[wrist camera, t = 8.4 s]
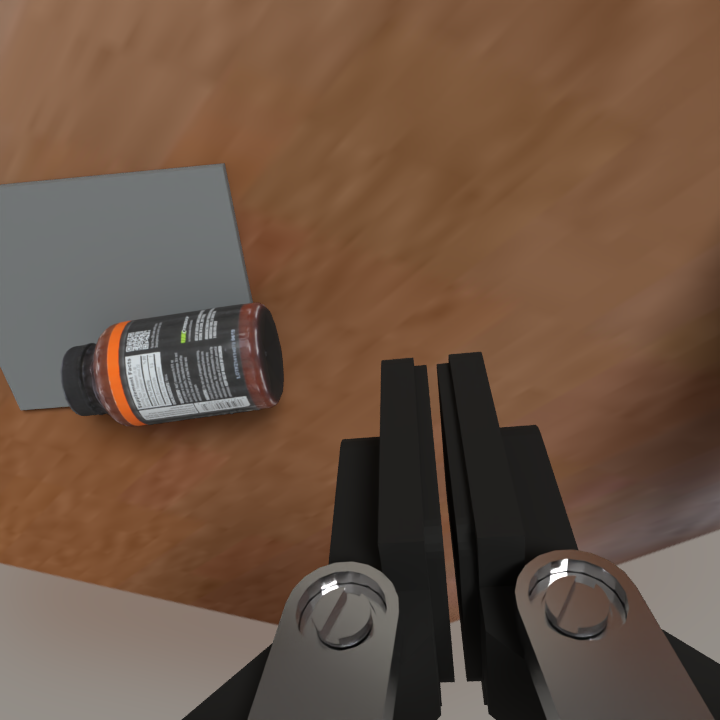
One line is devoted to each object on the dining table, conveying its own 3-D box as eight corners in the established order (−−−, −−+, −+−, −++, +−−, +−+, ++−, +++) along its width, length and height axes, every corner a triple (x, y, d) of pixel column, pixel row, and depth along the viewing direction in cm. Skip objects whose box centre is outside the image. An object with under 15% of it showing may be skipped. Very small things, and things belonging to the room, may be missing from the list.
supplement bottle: (291, 375, 39) (115, 398, 40) (269, 284, 36) (81, 311, 37) (278, 429, 33) (75, 454, 34) (252, 327, 31) (33, 357, 32)
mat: (224, 163, 33) (222, 166, 32) (269, 385, 40) (268, 390, 40) (-74, 191, 33) (-80, 195, 33) (25, 404, 41) (20, 410, 40)
